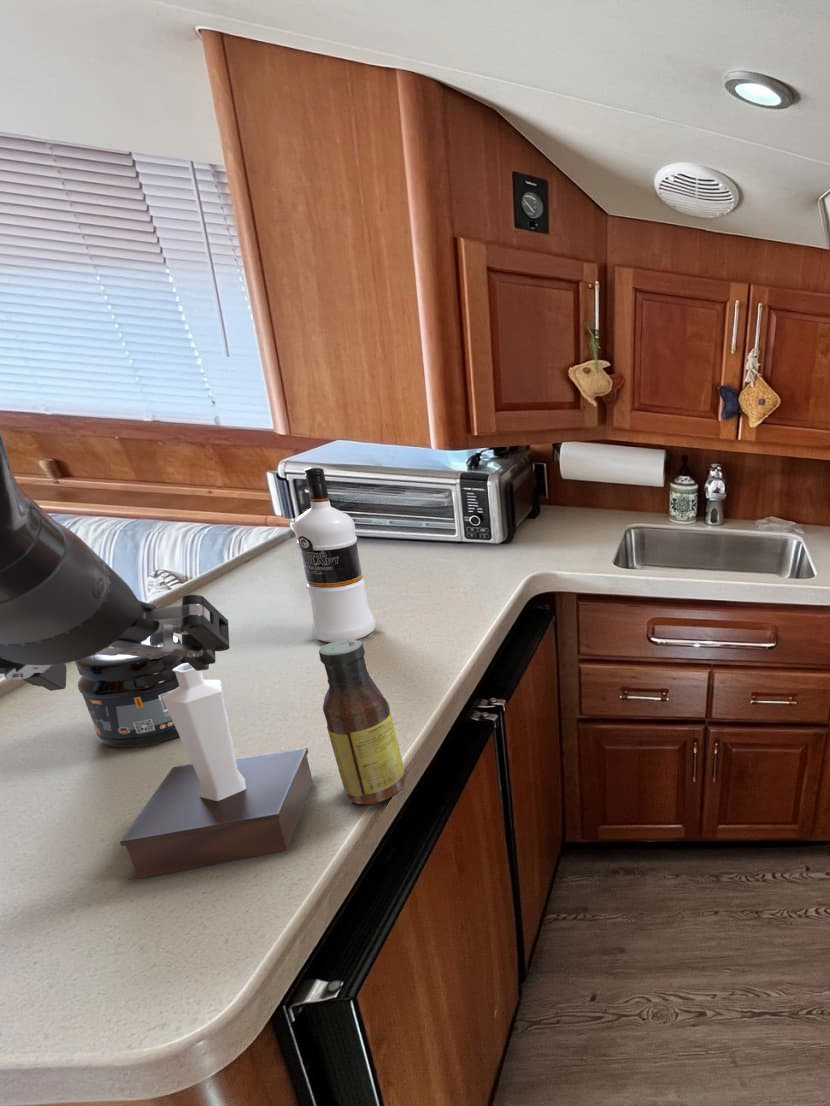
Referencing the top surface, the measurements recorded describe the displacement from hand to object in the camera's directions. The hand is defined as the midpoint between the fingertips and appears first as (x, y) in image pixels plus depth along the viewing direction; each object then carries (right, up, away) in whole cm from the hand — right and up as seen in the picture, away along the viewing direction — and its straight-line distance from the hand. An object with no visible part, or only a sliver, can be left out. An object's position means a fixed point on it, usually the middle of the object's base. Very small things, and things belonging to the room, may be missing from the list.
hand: (134, 668), depth 52 cm
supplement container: (-32, -12, +33) cm, 48 cm away
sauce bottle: (+3, -18, +25) cm, 31 cm away
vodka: (-28, -1, +63) cm, 69 cm away
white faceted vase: (-8, -15, +17) cm, 24 cm away
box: (-8, -20, +18) cm, 28 cm away
